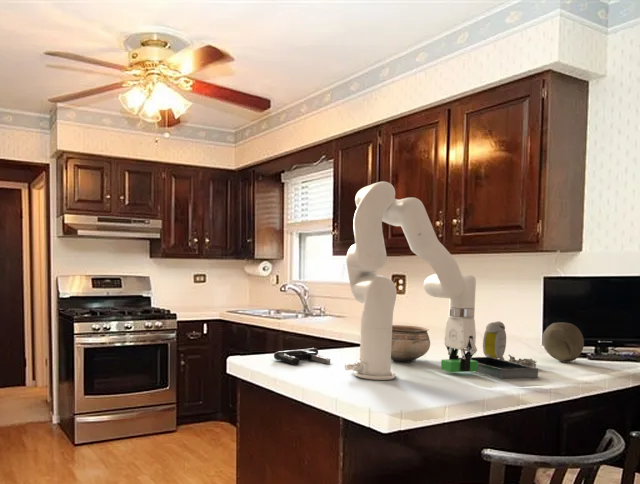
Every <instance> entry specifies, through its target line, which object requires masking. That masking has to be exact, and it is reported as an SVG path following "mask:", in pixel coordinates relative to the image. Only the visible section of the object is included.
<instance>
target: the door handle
mask: <svg viewBox="0 0 640 484" xmlns="http://www.w3.org/2000/svg"><path fill="white" fill-rule="evenodd" d="M273 358H274V359H275V360H276V361H282V362H285V363H288V364H290V365H294V366H297V365H299V364H300V363H301V362H303V361H309V362H311V361H315V362H319V363H322V364H325V365H330V364H331V358H328V357H325V356H321V355H319V350H318V348H314V347H312V348H303V349H292V350H281V351H275V352H274V354H273Z"/></svg>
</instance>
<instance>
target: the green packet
mask: <svg viewBox="0 0 640 484" xmlns="http://www.w3.org/2000/svg"><path fill="white" fill-rule="evenodd" d="M440 363H441V364H440V365H441V366H440V370H442V371H445V372H449V373H466V372H467V373H468V372H475V371H478V361H474V360H470V371H460V364H461V359H449V358H448V359H447V358H446V359H441V362H440Z"/></svg>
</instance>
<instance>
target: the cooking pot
mask: <svg viewBox="0 0 640 484" xmlns="http://www.w3.org/2000/svg"><path fill="white" fill-rule="evenodd" d="M429 330H430V329H429V328H427V327H423V326H418V325H417V326H416V325H405V324H404V325H401V324H392V345H391V360H392V361H394V362H397V363H411V362H413V361H416V360H417V359H419V358H421V357H423V356H425V355H426V354H427V353H428V352H429V350H430V348H431V339H430V336H429V333H428V331H429Z"/></svg>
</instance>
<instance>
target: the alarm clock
mask: <svg viewBox="0 0 640 484" xmlns="http://www.w3.org/2000/svg"><path fill="white" fill-rule="evenodd" d="M482 337H483V338H482V351H483V355H484V357H493V358H497V359H501V360H505V357H504V355H505V351H506V348H507V332H506V326H505V324H504V323H503V322H502V321H500V320H498V321H492V322H489V323H488V324H487V325H486V326H485V330H484V333H483V336H482Z"/></svg>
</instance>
